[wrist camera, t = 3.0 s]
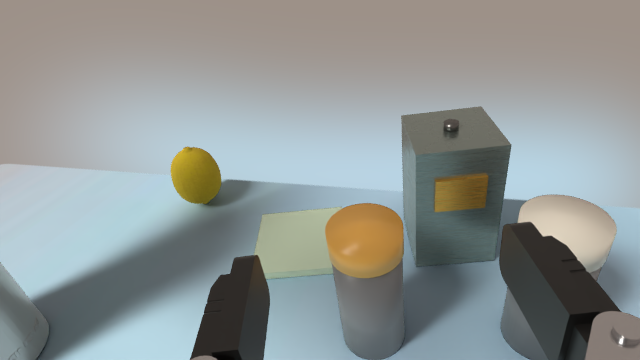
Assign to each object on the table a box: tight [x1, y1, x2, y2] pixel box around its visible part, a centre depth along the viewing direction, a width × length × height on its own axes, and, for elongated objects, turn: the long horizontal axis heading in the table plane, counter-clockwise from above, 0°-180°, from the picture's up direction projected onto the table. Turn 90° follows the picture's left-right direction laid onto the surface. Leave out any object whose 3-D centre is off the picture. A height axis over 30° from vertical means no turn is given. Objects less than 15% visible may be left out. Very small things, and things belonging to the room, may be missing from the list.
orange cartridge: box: [325, 203, 404, 360], centre depth 29 cm, size 5×5×11 cm
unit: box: [401, 107, 511, 267], centre depth 36 cm, size 7×8×13 cm
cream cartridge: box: [501, 195, 617, 360], centre depth 27 cm, size 5×5×11 cm
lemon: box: [171, 147, 221, 204], centre depth 48 cm, size 6×6×8 cm
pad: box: [254, 207, 342, 279], centre depth 41 cm, size 9×9×1 cm
